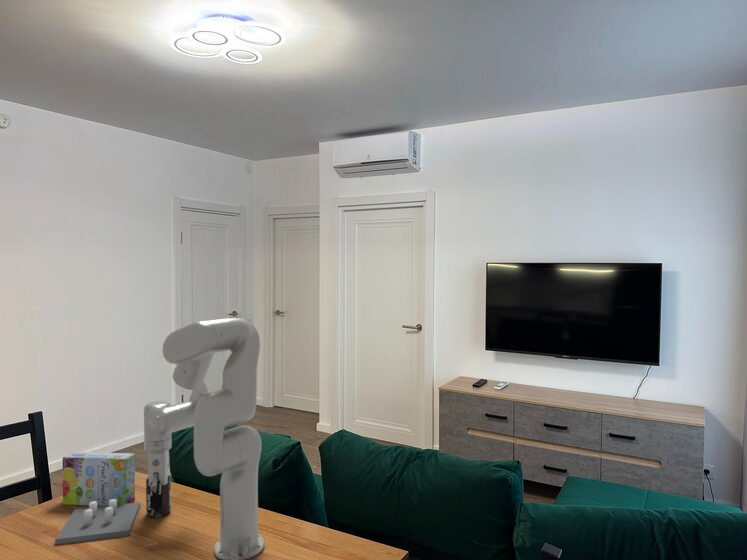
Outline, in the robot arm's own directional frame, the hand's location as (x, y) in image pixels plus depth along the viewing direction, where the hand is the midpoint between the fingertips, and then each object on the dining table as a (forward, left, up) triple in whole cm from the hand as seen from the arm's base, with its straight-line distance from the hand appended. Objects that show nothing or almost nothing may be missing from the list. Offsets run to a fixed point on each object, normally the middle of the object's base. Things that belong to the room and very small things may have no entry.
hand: (158, 500), depth 156 cm
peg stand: (-3, +15, -4) cm, 16 cm away
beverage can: (0, 0, -4) cm, 4 cm away
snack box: (+13, +19, -4) cm, 23 cm away
